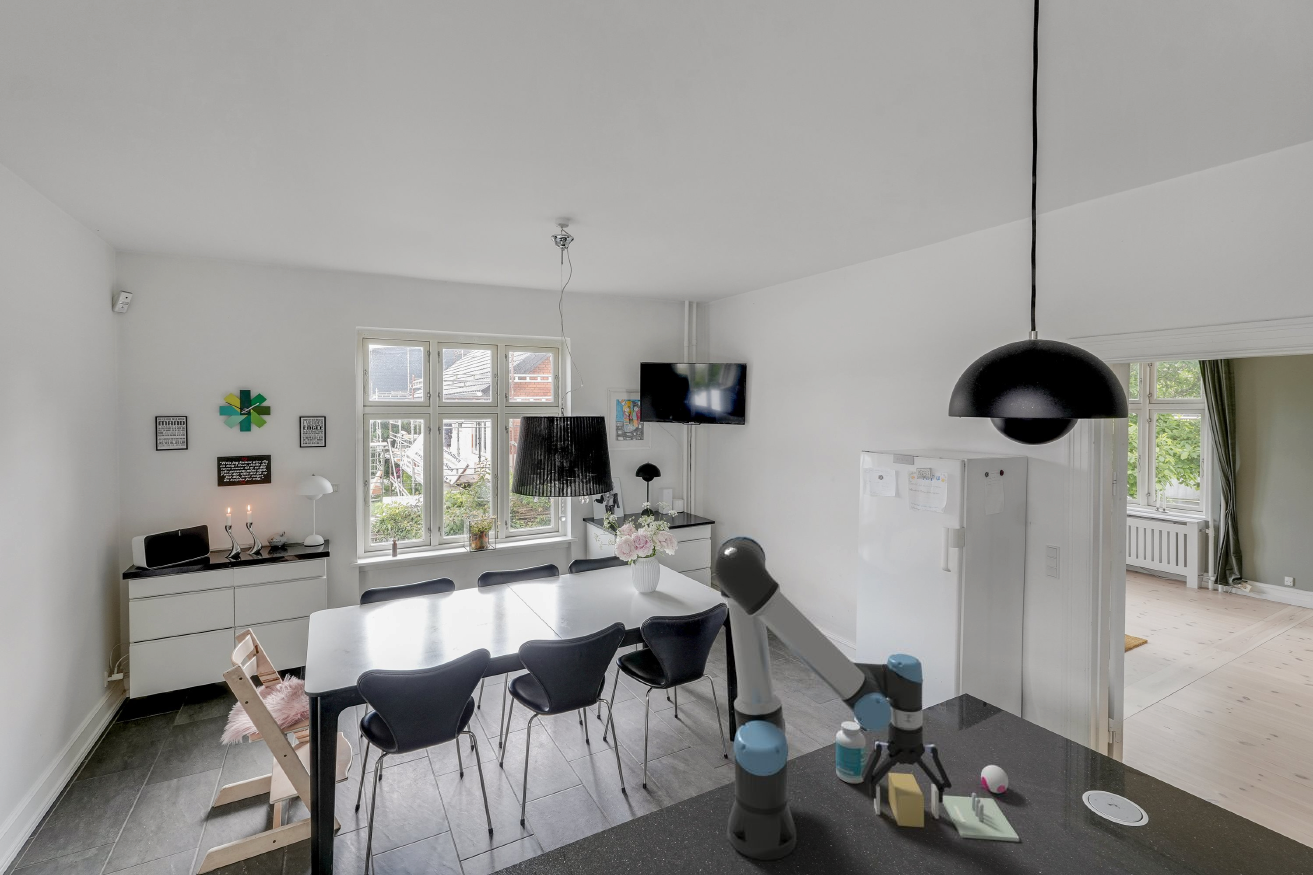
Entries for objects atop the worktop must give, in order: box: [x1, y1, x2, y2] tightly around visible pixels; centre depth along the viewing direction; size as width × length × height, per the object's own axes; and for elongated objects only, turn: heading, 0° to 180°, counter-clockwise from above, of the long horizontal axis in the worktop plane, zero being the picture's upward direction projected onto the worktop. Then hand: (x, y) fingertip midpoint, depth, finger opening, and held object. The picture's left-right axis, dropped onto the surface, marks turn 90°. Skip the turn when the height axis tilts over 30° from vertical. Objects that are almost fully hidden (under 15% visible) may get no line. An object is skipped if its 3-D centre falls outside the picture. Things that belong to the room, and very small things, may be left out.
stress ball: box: [976, 764, 1009, 794], centre depth 151 cm, size 8×8×7 cm
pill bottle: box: [835, 720, 867, 784], centre depth 157 cm, size 8×7×14 cm
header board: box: [942, 792, 1020, 842], centre depth 140 cm, size 12×14×5 cm
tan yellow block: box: [887, 772, 925, 828], centre depth 142 cm, size 6×9×7 cm, turn 172°
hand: (905, 812), depth 142 cm, fingers open, 12 cm apart
